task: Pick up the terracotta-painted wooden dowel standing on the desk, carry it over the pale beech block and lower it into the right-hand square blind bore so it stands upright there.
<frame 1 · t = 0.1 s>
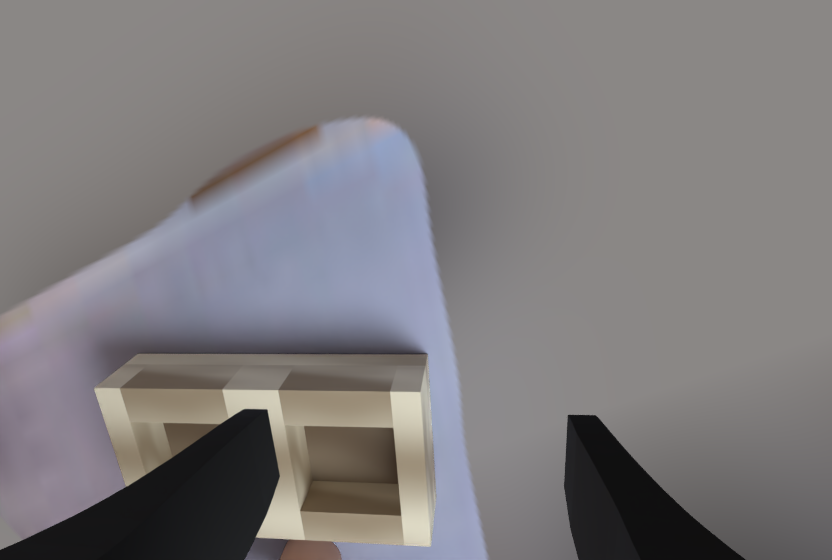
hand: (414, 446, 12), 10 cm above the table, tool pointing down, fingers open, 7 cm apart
dowel: (312, 555, 28), on the table
bore block: (289, 426, 25), on the table
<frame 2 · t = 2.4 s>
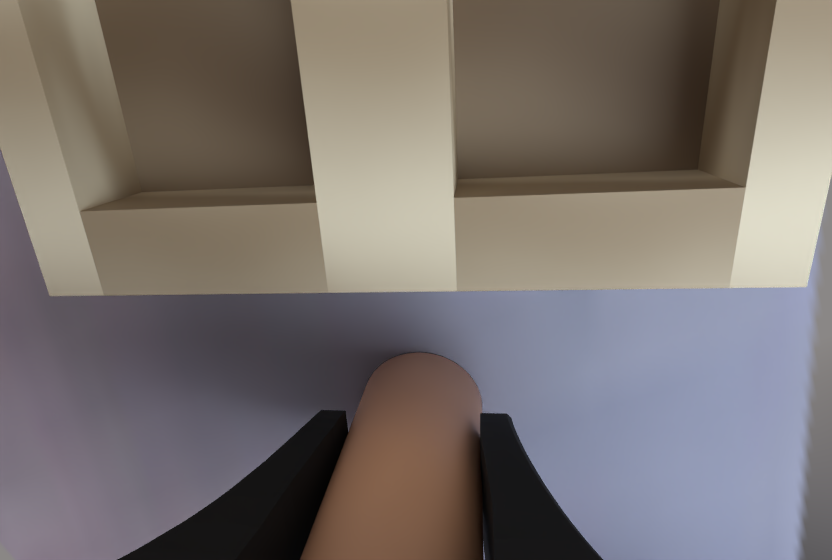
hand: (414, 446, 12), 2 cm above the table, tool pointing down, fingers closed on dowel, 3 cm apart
dowel: (422, 405, 14), on the table, touching gripper
bore block: (399, 63, 11), on the table
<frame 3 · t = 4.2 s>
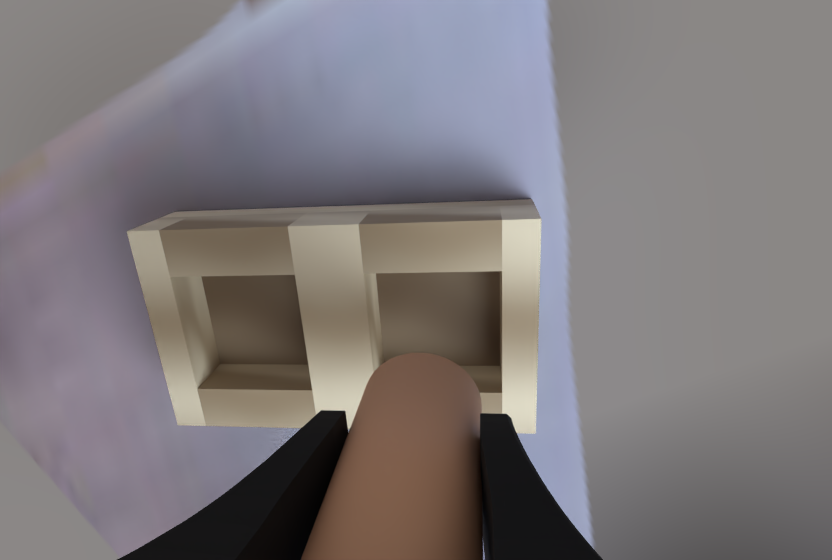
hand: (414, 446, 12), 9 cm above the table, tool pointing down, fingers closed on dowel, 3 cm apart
dowel: (422, 404, 14), point 7 cm above the table, touching gripper
bore block: (355, 302, 21), on the table
when the fingers open (4 cm above the table, at t = 5.9 s): dowel stays where it is, resting on bore block.
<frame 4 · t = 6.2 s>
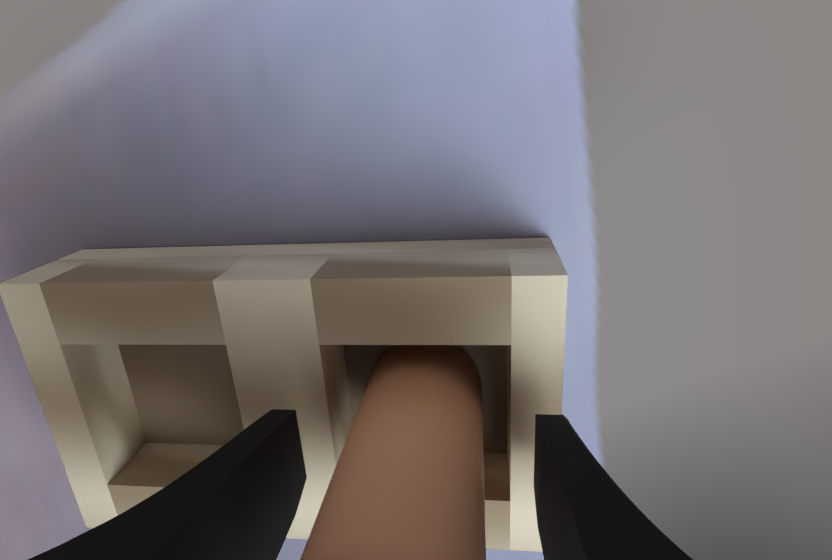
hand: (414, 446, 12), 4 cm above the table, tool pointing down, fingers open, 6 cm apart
dowel: (425, 386, 15), point 1 cm above the table, touching bore block
bore block: (319, 365, 16), on the table
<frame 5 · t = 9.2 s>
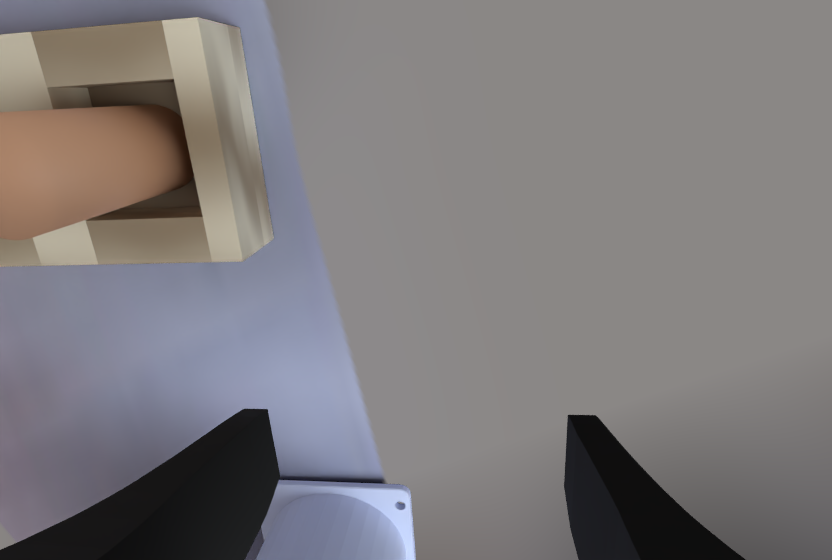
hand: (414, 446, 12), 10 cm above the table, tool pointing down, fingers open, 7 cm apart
dowel: (159, 148, 19), point 1 cm above the table, touching bore block
bore block: (95, 149, 21), on the table
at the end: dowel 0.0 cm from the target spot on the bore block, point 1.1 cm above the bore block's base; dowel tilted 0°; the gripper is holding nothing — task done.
